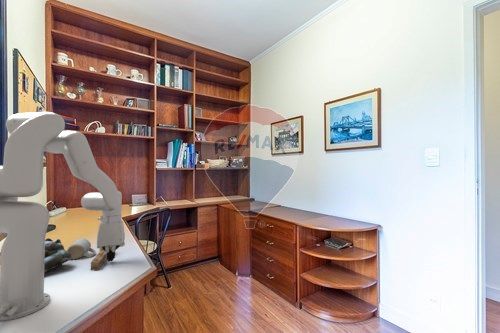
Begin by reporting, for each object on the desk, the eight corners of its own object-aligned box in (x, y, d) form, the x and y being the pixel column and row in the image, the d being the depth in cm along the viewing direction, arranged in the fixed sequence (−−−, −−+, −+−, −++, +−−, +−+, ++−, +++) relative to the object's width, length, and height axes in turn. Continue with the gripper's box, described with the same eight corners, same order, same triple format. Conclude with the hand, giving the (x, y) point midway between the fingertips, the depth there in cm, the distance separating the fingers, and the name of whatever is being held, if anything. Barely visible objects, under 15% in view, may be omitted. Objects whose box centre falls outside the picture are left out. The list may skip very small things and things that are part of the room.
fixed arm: (95, 269, 96) (95, 261, 96) (90, 270, 96) (90, 262, 96) (106, 254, 113) (106, 247, 113) (102, 254, 113) (102, 248, 113)
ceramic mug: (65, 260, 105) (65, 243, 105) (72, 254, 113) (73, 238, 113) (92, 258, 108) (92, 242, 109) (97, 252, 116) (98, 237, 116)
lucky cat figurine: (25, 282, 85) (11, 247, 87) (28, 283, 94) (16, 251, 95) (73, 259, 96) (61, 228, 97) (72, 262, 104) (61, 234, 106)
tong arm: (98, 269, 96) (98, 262, 96) (94, 270, 95) (94, 262, 96) (109, 255, 111) (109, 249, 111) (105, 256, 111) (105, 249, 111)
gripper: (89, 221, 98) (88, 265, 97) (129, 219, 103) (128, 261, 102) (94, 218, 105) (94, 259, 105) (131, 216, 110) (130, 255, 109)
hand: (110, 260), depth 103 cm, fingers closed
